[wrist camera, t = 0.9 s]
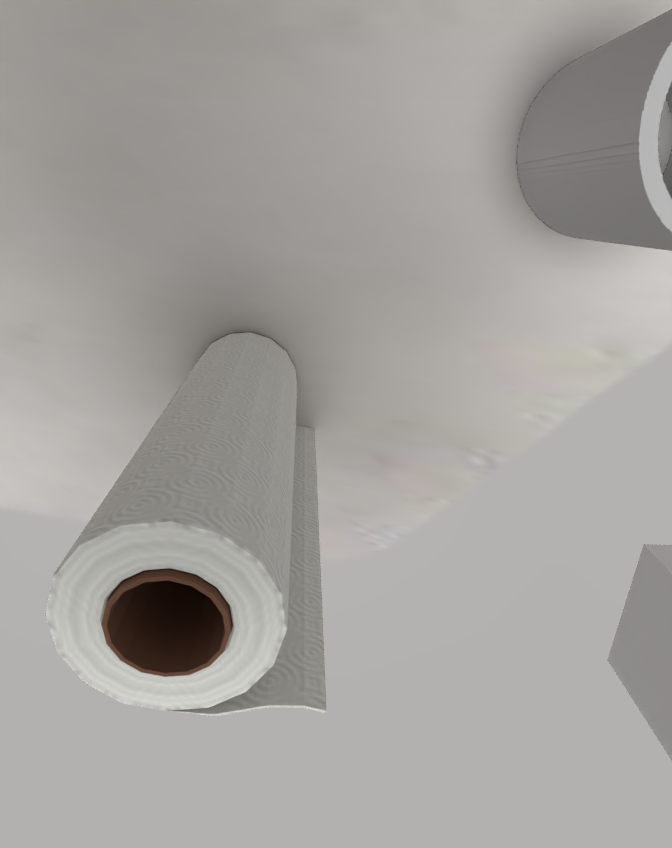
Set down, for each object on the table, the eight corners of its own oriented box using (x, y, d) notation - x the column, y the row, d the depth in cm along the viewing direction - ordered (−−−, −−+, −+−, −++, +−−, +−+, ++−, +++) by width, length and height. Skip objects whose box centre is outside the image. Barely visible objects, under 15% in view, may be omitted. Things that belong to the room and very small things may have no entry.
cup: (512, 243, 32) (623, 265, 21) (522, 54, 29) (660, -39, 18) (670, 233, 32) (864, 249, 21) (699, 45, 29) (946, -54, 18)
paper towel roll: (180, 346, 33) (-6, 562, 13) (280, 318, 33) (243, 496, 13) (222, 454, 36) (118, 770, 16) (314, 429, 35) (327, 719, 16)
